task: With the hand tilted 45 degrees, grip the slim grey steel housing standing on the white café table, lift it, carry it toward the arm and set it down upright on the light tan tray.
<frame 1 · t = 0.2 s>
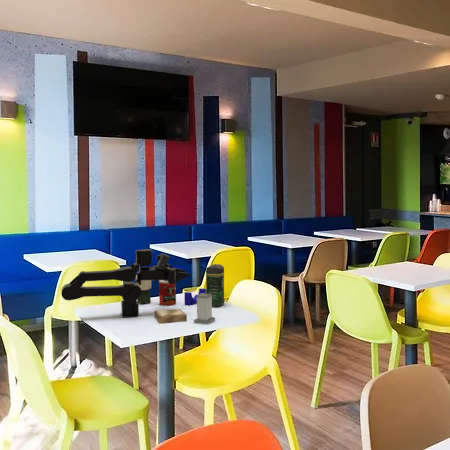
hand: (187, 273, 235), 17 cm above the table, tool horizontal, fingers open, 9 cm apart
steel housing: (204, 321, 218), on the table
canned food: (167, 304, 251), on the table
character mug: (144, 303, 253), on the table
coffee jar: (215, 305, 247), on the table
light tan tray: (170, 318, 222), on the table
cable clip: (194, 303, 252), on the table
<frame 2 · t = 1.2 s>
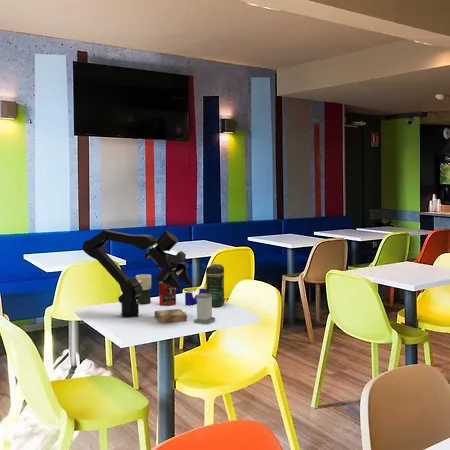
hand: (186, 287, 220), 14 cm above the table, tool tilted 45°, fingers open, 9 cm apart
nothing on the table moved.
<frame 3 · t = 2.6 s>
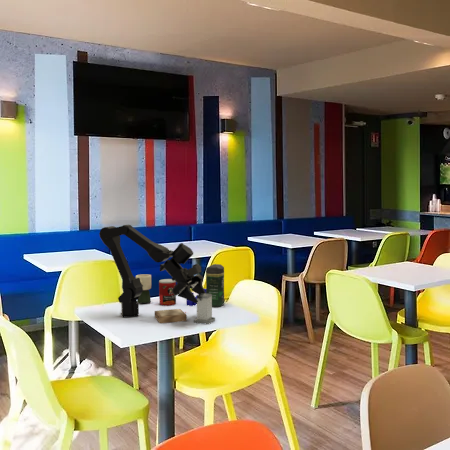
hand: (201, 300, 217), 9 cm above the table, tool tilted 45°, fingers open, 9 cm apart
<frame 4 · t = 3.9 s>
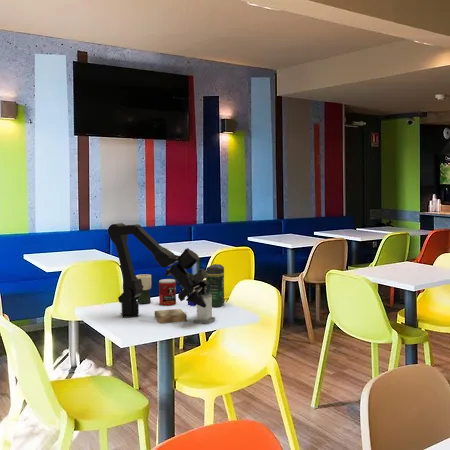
hand: (207, 305, 217), 7 cm above the table, tool tilted 45°, fingers closed on steel housing, 4 cm apart
steel housing: (204, 321, 218), on the table, touching gripper
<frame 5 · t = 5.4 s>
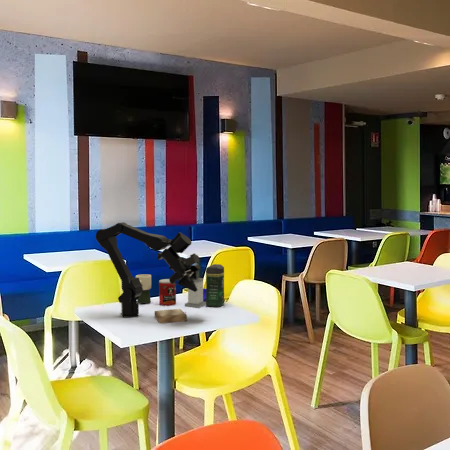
hand: (198, 289, 217), 13 cm above the table, tool tilted 45°, fingers closed on steel housing, 4 cm apart
steel housing: (195, 305, 218), point 6 cm above the table, touching gripper
when the fingers open (10 cm above the table, at t = 6.9 s): steel housing drops 1 cm, resting on light tan tray.
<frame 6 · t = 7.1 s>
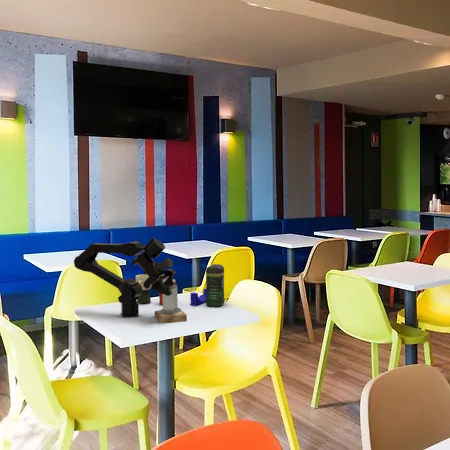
hand: (173, 293, 221), 11 cm above the table, tool tilted 45°, fingers open, 6 cm apart
steel housing: (170, 312, 222), point 3 cm above the table, touching light tan tray
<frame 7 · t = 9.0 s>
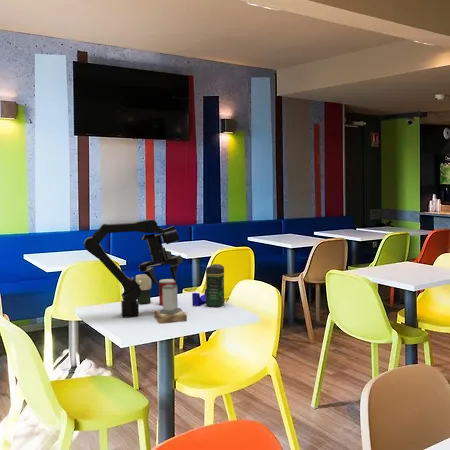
hand: (165, 282, 232), 13 cm above the table, tool pointing down, fingers open, 9 cm apart
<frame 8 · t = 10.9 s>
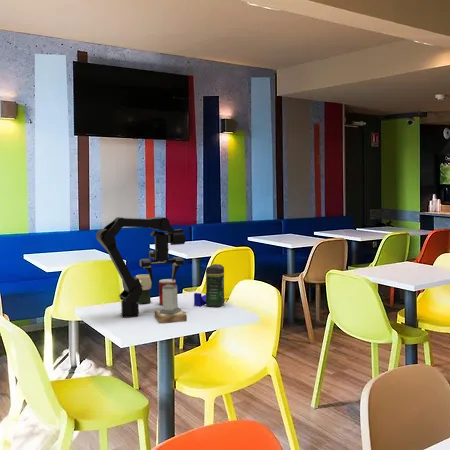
hand: (162, 281, 236), 13 cm above the table, tool pointing down, fingers open, 9 cm apart
at the end: steel housing inside the target area on the light tan tray (0.0 cm from its centre), point 2.8 cm above the light tan tray's base; steel housing tilted 0°; the gripper is holding nothing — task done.
